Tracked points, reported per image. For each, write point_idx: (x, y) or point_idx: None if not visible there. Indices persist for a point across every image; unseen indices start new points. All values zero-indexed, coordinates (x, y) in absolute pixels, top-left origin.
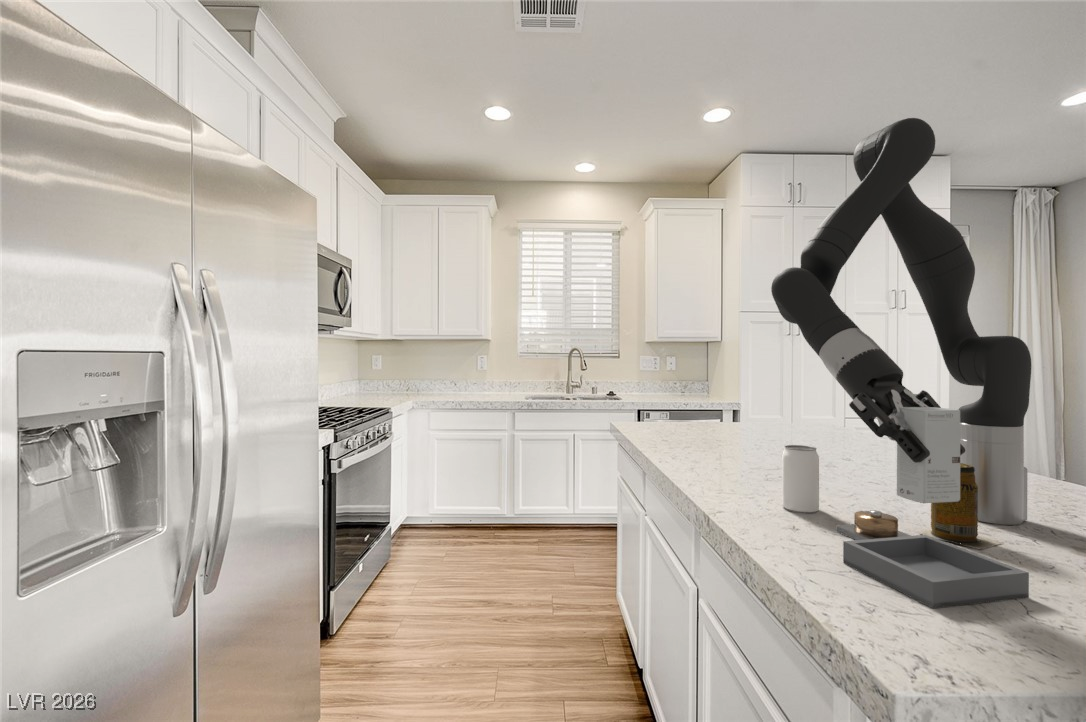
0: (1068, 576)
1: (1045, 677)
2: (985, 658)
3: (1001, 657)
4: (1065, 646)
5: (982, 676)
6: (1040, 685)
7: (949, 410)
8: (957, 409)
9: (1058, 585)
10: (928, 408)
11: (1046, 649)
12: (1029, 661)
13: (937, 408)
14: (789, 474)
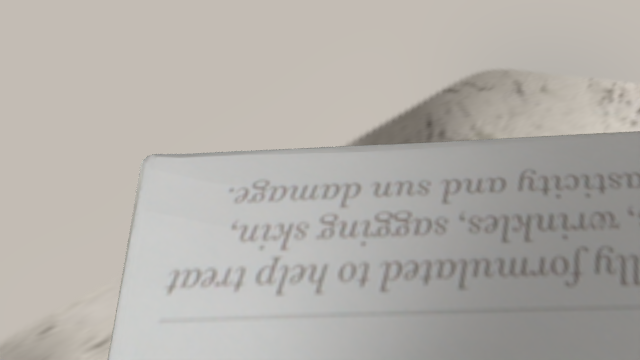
0: (6, 355)
1: (500, 89)
2: (546, 134)
3: (518, 132)
4: (382, 137)
5: (591, 103)
6: (525, 78)
7: (331, 150)
8: (158, 168)
9: (98, 319)
10: (602, 277)
11: (423, 136)
12: (484, 118)
13: (423, 258)
14: None
